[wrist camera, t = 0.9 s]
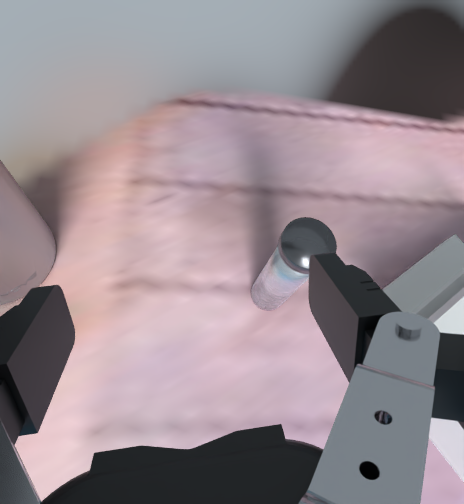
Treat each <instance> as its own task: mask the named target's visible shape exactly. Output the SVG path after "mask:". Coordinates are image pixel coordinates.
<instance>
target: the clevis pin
mask: <svg viewBox="0 0 464 504" xmlns="http://www.w3.org/2000/svg"><path fill="white" fill-rule="evenodd" d="M336 249H337V245H336V240H335V237H334V235H333V233H332V231H331V230H330V229H329V228H328V227H327V226H326V225H325V224H324V223H322V222H321V221H319V220H316V219H313V218H306V217H304V218H298V219H295V220H293V221H292V222H290V223H289V224H288V225H287V226H286V228H285V229H284V231H283V233H282V234H281V236H280V238H279V242H278V246H277V248H276V249H275V251H274V253H273V254H272V256H271V257H270V259H269V260H268V262H267V264H266V265H265V267H264V268H263V270H262V272H261V273H260V275H259V276H258V278H257V279H256V281H255V283H254V284H253V286H252V288H251V297H252V300H253V302H254V303H255V305H256V306H257V307H259V308H260V309H263V310H267V311H271V310H275V309H277V308H278V307H280V306H281V305H282V304H283V303H284V302H285V301H286V300H287V299H288V298H289V297H290V296H291V295H292V294H293V293H294V292H295V291H296V290H297V289H298V288H299V287H300V286H302V285H303V284H304V283H305V282H306V281H307V280H308V279H309V261H310V256H311V255H315V254H323V253H331V252H334V253H336Z"/></svg>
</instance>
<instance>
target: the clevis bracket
mask: <svg viewBox="0 0 464 504" xmlns="http://www.w3.org/2000/svg"><path fill="white" fill-rule="evenodd" d="M382 290H383V291H384V292H385V294H386V295H387V296H388V297H389V298H390V299H391V300H392V301H393V302H394V303H395V304H396V305H397V307H398V308H399V309H400V310H401V311H402V312H409V313H414V314H417V315H420V316H422V317H425V318H427V319H428V320H430V321H431V322H433V323H434V324H435V325H436V326H437V328H438V329H439V332H441V333H451V334H463V335H464V243H463V242H462V241H461V240H460V239H459V238H458V237H457V235H456V234H455V235H453V236H451V237H450V238H448V239H447V240H445V241H444V242H442V243H441V244H440V245H439V246H437V247H436V248H435V249H434V250H432V251H431V252H430V253H428V254H427V255H426V256H425V257H423V258H422V259H421V260H419V261H418V262H417V263H416V264H414V265H413V266H412V267H410V268H409V269H408V270H407V271H405V272H404V273H403V274H402V275H400V276H399V277H398V278H396V279H395V280H394V281H393V282H391V283H390V284H389V285H387V286H386V287H385V288H384V289H382ZM429 439H430V440H431V441H432V443H433V444H434V445H435V447H436V448H437V449H438V450H439V452H440V453H441V454H442V456H443V457H444V458H445V459H446V461H447V462H448V463H449V465H450V466H451V467H452V468H453V470H454V471H455V472H456V474H457V475H458V476H459V477H460V479H461V480H462V481H463V483H464V430H463V428H462V427H461V425H460V424H459V423H458V421H453V420H445V419H437V418H431V423H430V431H429Z"/></svg>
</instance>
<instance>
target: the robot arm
mask: <svg viewBox="0 0 464 504" xmlns="http://www.w3.org/2000/svg"><path fill="white" fill-rule="evenodd" d="M55 255H56V243H55V239H54V236H53V233H52V231H51V230H50V228H49V227H48V225H47V224H46V222H45V221H44V220H43V218H42V217H41V215H40V214H39V213H38V211H37V210H36V208H35V207H34V205H33V204H32V203H31V201H30V200H29V199H28V197H27V196H26V194H25V193H24V192H23V190H22V189H21V188H20V186H19V185H18V183H17V182H16V181H15V179H14V178H13V177H12V175H11V174H10V172H9V171H8V170H7V168H6V167H5V166H4V164H3V163H2V162H1V160H0V305H2V304H6V303H11V302H13V301H16V300H18V299H20V298H23V297H24V296H25V297H24V299H23V300H22V302H21V303H20V304H19V305H17V306H14V307H13V308H11V309H10V310H9V311H7V312H6V313H5V314H3V315H2V316H1V317H0V504H420V501H421V493H422V485H423V478H424V470H425V462H426V454H427V447H428V439H429V431H430V423H431V418H437V419H445V420H453V421H458V423H459V424H460V425H461V427H462V428H463V430H464V335H463V334H451V333H441V332H439V329H438V328H437V326H436V325H435V324H434V323H433V322H431V321H430V320H428V319H427V318H425V317H422V316H420V315H417V314H414V313H409V312H402V311H401V310H400V309H399V308H398V307H397V305H396V304H395V303H394V302H393V301H392V300H391V299H390V298H389V297H388V296H387V295H386V294H385V292H384V291H383V290H380V287H379V286H378V285H377V284H376V283H375V282H373V279H372V278H371V277H370V276H369V275H368V274H367V273H366V272H365V271H363V270H361V269H359V268H357V267H355V266H353V265H345V264H344V263H343V261H342V260H341V259H340V258H339V257H338V256H337V254H336V253H334V252H331V253H323V254H315V255H311V256H310V261H309V304H310V308H311V312H312V314H313V316H314V318H315V320H316V322H317V324H318V325H319V327H320V329H321V331H322V333H323V335H324V337H325V338H326V340H327V342H328V344H329V346H330V348H331V350H332V351H333V353H334V355H335V357H336V359H337V361H338V363H339V364H340V366H341V368H342V370H343V372H344V374H345V375H346V377H347V379H348V381H349V386H348V388H347V391H346V393H345V396H344V399H343V401H342V404H341V406H340V409H339V412H338V414H337V417H336V419H335V422H334V424H333V427H332V430H331V432H330V435H329V437H328V440H327V442H326V445H325V448H324V450H323V449H321V448H319V447H317V446H314V445H311V444H308V443H305V442H301V441H296V440H290V439H285V436H284V432H283V429H282V425H281V424H279V425H272V426H266V427H259V428H253V429H246V430H240V431H235V432H233V433H230V434H228V435H225V436H223V437H220V438H218V439H215V440H213V441H210V442H208V443H205V444H203V445H201V446H198V447H196V448H193V449H174V448H162V447H151V446H136V447H130V448H123V449H117V450H110V451H104V452H97V453H94V456H93V460H92V464H91V468H90V471H87V472H85V473H83V474H81V475H79V476H77V477H75V478H73V479H71V480H70V481H68V482H67V483H65V484H64V485H62V486H60V487H59V488H58V489H56V490H55V491H54V492H52V493H51V494H50V495H49V496H47V497H46V498H45V499H44V500H43V501H42V502H41V500H40V497H39V495H38V493H37V491H36V489H35V487H34V485H33V483H32V481H31V479H30V477H29V475H28V472H27V470H26V468H25V466H24V464H23V462H22V460H21V458H20V456H19V454H18V452H17V450H16V448H15V446H14V445H15V443H16V441H17V438H18V436H22V435H28V434H35V433H38V431H39V429H40V426H41V424H42V421H43V419H44V416H45V414H46V411H47V409H48V407H49V404H50V402H51V399H52V397H53V394H54V392H55V389H56V387H57V385H58V382H59V380H60V377H61V375H62V372H63V370H64V367H65V365H66V363H67V360H68V358H69V355H70V353H71V350H72V348H73V345H74V341H75V329H74V325H73V321H72V318H71V315H70V312H69V309H68V306H67V303H66V300H65V297H64V294H63V291H62V289H61V287H60V286H59V285H52V286H44V287H38V286H39V285H40V284H41V283H42V282H43V281H44V279H45V278H46V277H47V275H48V274H49V272H50V270H51V268H52V266H53V263H54V260H55Z"/></svg>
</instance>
